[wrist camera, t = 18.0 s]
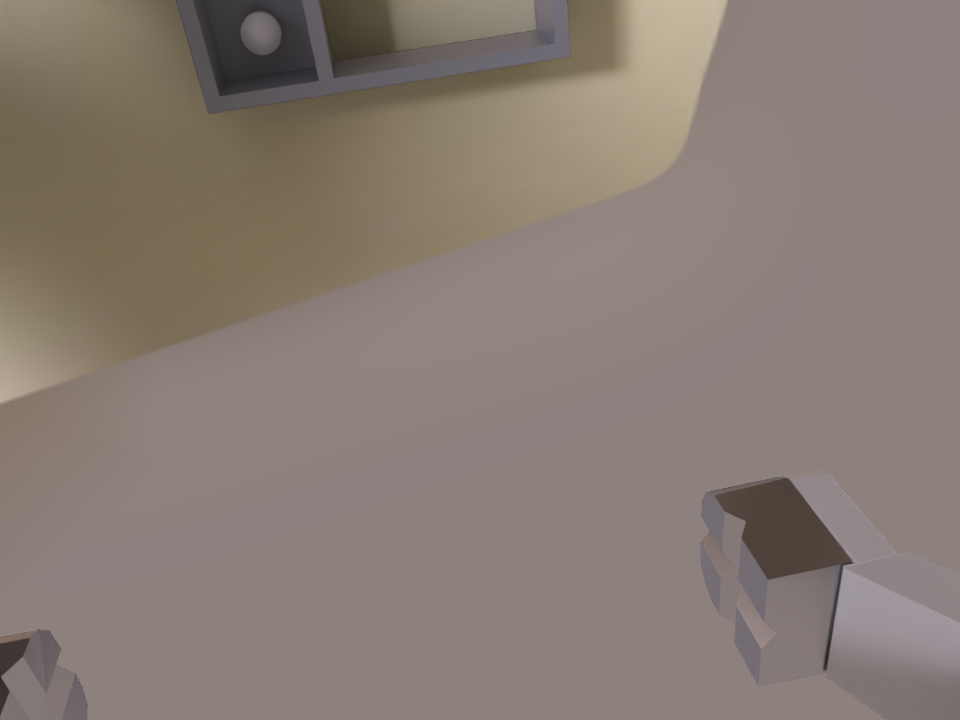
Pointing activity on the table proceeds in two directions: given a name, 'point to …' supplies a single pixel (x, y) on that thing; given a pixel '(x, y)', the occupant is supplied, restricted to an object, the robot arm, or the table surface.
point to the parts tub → (307, 56)
